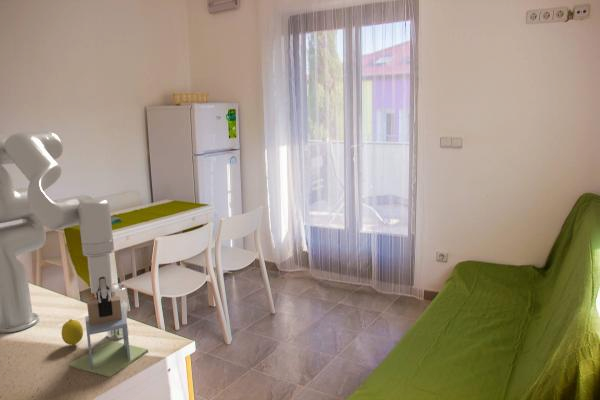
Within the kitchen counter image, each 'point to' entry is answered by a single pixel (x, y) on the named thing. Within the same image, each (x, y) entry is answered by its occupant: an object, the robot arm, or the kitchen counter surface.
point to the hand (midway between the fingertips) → (104, 309)
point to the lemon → (72, 332)
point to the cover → (106, 323)
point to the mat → (109, 358)
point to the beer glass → (120, 291)
